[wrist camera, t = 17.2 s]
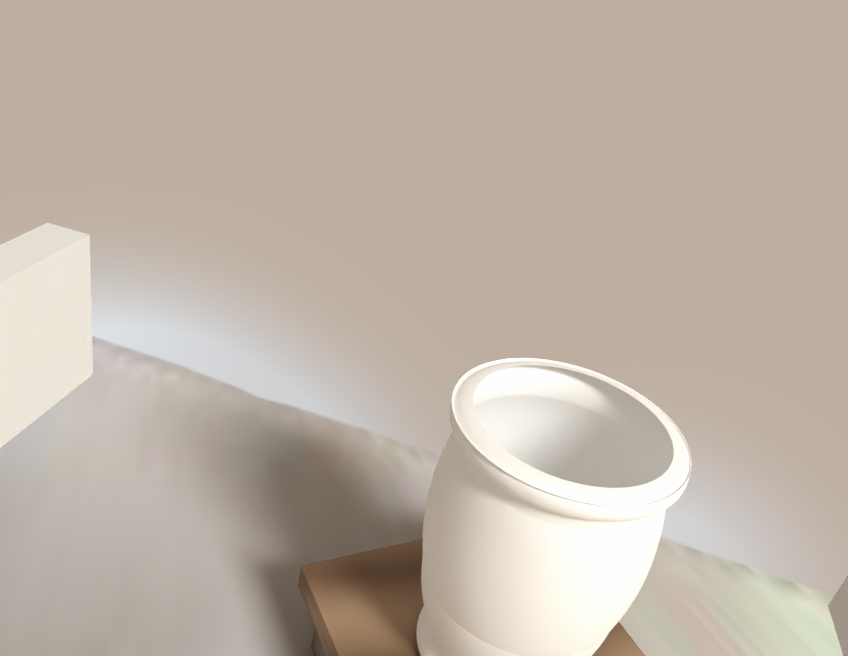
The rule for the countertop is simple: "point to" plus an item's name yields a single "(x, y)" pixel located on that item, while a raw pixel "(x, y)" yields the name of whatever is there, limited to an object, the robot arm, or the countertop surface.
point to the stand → (384, 605)
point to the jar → (543, 510)
